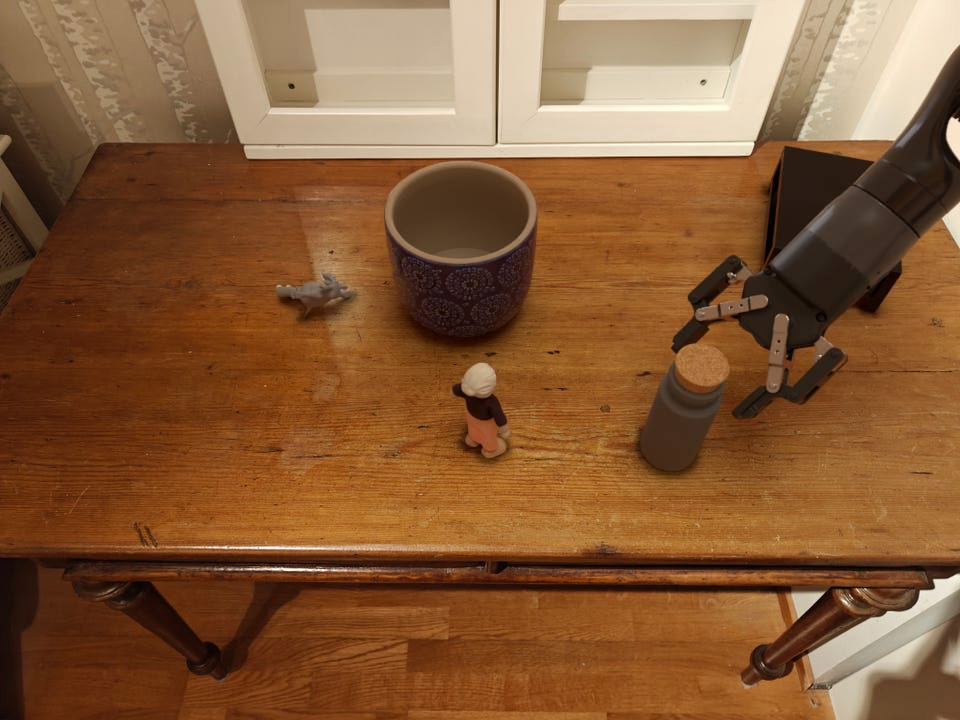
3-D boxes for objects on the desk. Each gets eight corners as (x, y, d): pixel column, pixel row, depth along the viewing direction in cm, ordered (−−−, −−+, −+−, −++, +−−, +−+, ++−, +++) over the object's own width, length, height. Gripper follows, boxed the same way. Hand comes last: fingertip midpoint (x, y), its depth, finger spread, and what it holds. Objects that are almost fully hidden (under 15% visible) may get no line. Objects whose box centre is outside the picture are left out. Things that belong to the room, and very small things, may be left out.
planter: (534, 354, 81) (543, 263, 69) (392, 355, 81) (376, 265, 69) (528, 252, 91) (534, 158, 79) (401, 253, 91) (388, 159, 79)
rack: (872, 206, 96) (897, 165, 90) (874, 313, 84) (902, 273, 79) (767, 187, 98) (784, 145, 93) (755, 287, 87) (774, 247, 81)
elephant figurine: (313, 268, 90) (366, 270, 85) (312, 314, 91) (366, 319, 86) (250, 266, 81) (306, 269, 77) (250, 317, 82) (306, 323, 77)
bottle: (636, 465, 72) (666, 383, 60) (642, 418, 76) (671, 332, 64) (693, 477, 72) (735, 397, 59) (697, 429, 75) (737, 344, 63)
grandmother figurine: (521, 441, 74) (527, 372, 64) (504, 469, 72) (506, 402, 62) (460, 410, 77) (455, 339, 66) (441, 437, 75) (434, 367, 64)
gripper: (769, 192, 61) (641, 326, 67) (902, 298, 54) (744, 439, 60) (792, 217, 67) (672, 339, 73) (915, 316, 59) (770, 442, 65)
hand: (705, 383), depth 66 cm, fingers open, 8 cm apart
